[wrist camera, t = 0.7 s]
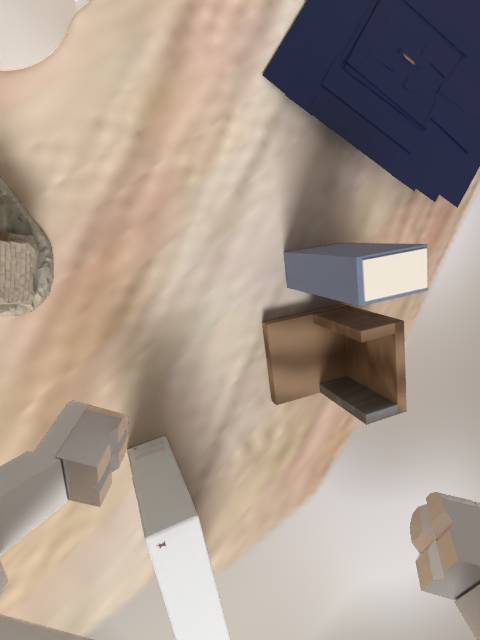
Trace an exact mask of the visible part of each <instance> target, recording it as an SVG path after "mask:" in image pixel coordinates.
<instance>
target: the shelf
mask: <svg viewBox="0 0 480 640" xmlns="http://www.w3.org/2000/svg"><path fill="white" fill-rule="evenodd" d="M262 325H263V333H264V341H265V349H266V357H267V366H268V374H269V382H270V390H271V398H272V401H273V402H274V403H275V404H276V405H279V404H282V403H286V402H289V401H292V400H296V399H299V398H303V397H306V396H309V395H313V394H316V393H320V392H321V393H322V394H324V395H325V396H326V397H328V398H329V399H331V400H332V401H334V402H335V403H336V404H338V405H339V406H341V407H342V408H344V409H345V410H346V411H348V412H349V413H351V414H352V415H354V416H355V417H356V418H358V419H359V420H361V421H362V422H363V423H365V424H366V425H367V424H370V423H373V422H376V421H379V420H382V419H385V418H387V417H391V416H393V415H397V414H400V413H402V412H406V378H405V344H404V321H403V320H399V319H395V318H392V317H388V316H384V315H380V314H377V313H373V312H369V311H366V310H362V309H358V308H355V307H351V306H349V305H345V304H341V305H337V306H332V307H328V308H323V309H319V310H314V311H310V312H305V313H301V314H296V315H292V316H287V317H283V318H278V319H274V320H269V321H265V322H262Z"/></svg>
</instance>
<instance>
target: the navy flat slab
mask: <svg viewBox="0 0 480 640" xmlns="http://www.w3.org/2000/svg"><path fill="white" fill-rule="evenodd" d="M263 76H264V77H265V78H267V79H268V80H269V81H270V82H271V83H273V84H274V85H275V86H276V87H278V88H279V89H280V90H281V91H282V92H284V93H285V95H286V96H287V97H288V98H290V99H291V100H292V101H294V102H295V103H296V104H298V105H299V106H300V107H302V108H303V109H304V110H306V111H307V112H308V113H310V114H311V115H313V116H315V117H316V118H317V119H319V120H320V121H321V122H323V123H324V124H325V125H327V126H328V127H329V128H331V129H332V130H333V131H335V132H336V133H337V134H339V135H340V136H341V137H343V138H344V139H345V140H347V141H348V142H349V143H351V144H352V145H353V146H355V147H356V148H357V149H359V150H360V151H361V152H362V153H364V154H365V155H366V156H368V157H369V158H370V159H372V160H373V161H374V162H376V163H377V164H378V165H380V166H381V167H382V168H384V169H385V170H386V171H388V172H389V173H390V174H391V175H392V176H394V177H395V178H397V179H398V180H399V181H401V182H402V183H404V184H405V185H406V186H408V187H409V188H411V189H412V190H414V191H415V189H418V190H419V191H420V192H422V193H423V194H424V195H426V196H427V197H429V198H430V199H431V200H433V201H434V202H435V201H436V199H437V197H438V195H439V194H440V195H441V196H442V197H444V198H445V199H446V200H448V201H449V202H450V203H452V204H453V205H454V206H456V207H458V205H459V204H460V202H461V200H462V198H463V196H464V194H465V193H466V191H467V189H468V187H469V185H470V183H471V181H472V180H473V178H474V176H475V174H476V172H477V170H478V168H479V167H480V0H308V1H307V3H306V4H305V6H304V8H303V9H302V11H301V13H300V14H299V16H298V18H297V19H296V21H295V23H294V24H293V26H292V28H291V29H290V31H289V32H288V34H287V36H286V37H285V39H284V41H283V42H282V44H281V46H280V47H279V49H278V51H277V52H276V54H275V56H274V57H273V59H272V61H271V62H270V64H269V65H268V67H267V69H266V70H265V72H264V74H263Z"/></svg>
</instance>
